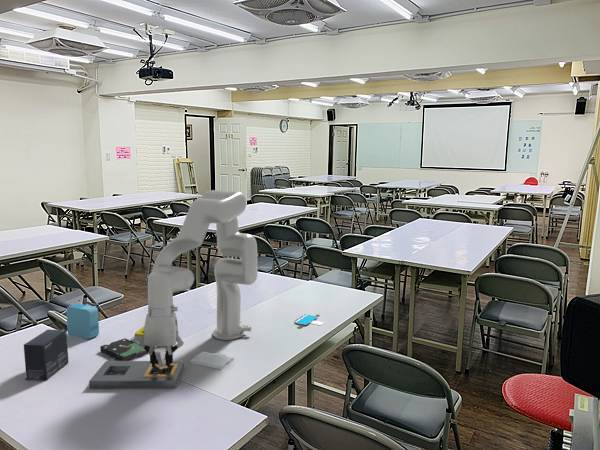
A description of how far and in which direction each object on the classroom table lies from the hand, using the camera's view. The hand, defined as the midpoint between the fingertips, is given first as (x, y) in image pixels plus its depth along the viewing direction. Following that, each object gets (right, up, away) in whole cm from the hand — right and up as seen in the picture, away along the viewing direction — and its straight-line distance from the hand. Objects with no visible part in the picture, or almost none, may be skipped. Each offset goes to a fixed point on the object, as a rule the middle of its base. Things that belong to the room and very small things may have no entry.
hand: (161, 364), depth 144 cm
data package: (-41, +1, +33) cm, 53 cm away
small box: (-38, -3, +3) cm, 39 cm away
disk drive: (-19, -2, +19) cm, 27 cm away
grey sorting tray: (-7, -4, 0) cm, 8 cm away
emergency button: (-14, 0, +34) cm, 36 cm away
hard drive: (+14, -4, +14) cm, 20 cm away
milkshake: (0, -3, 0) cm, 3 cm away
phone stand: (+49, +1, +56) cm, 74 cm away
